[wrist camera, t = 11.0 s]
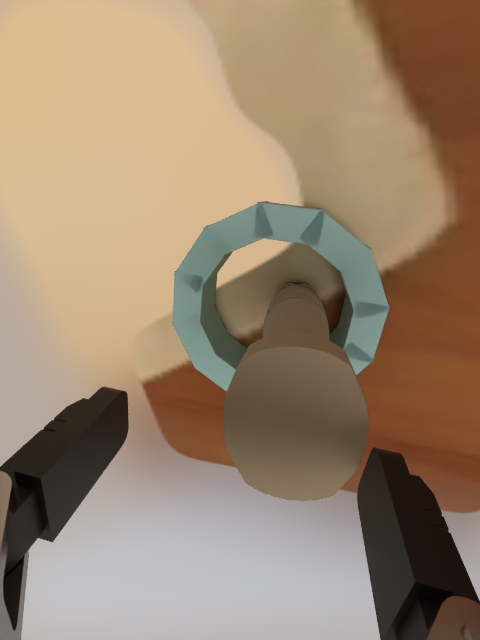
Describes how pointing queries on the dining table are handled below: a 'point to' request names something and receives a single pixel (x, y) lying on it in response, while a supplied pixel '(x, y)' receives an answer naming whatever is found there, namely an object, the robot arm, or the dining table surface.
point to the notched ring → (285, 225)
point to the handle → (295, 404)
